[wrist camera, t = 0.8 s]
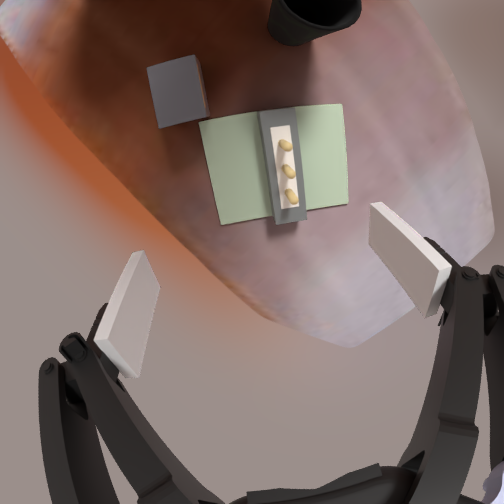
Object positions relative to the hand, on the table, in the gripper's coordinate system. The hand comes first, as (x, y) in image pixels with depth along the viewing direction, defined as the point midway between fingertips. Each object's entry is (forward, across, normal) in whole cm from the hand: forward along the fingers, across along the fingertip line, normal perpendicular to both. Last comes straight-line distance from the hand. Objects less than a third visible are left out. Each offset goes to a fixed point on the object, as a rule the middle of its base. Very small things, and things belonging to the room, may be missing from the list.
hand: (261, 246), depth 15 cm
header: (+21, +5, -1) cm, 21 cm away
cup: (+22, +9, +17) cm, 29 cm away
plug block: (+21, -5, +10) cm, 24 cm away
